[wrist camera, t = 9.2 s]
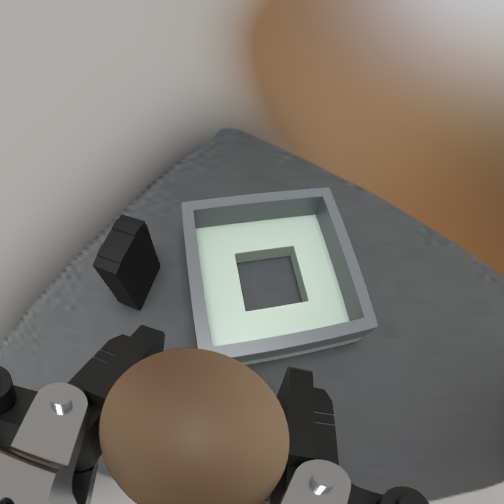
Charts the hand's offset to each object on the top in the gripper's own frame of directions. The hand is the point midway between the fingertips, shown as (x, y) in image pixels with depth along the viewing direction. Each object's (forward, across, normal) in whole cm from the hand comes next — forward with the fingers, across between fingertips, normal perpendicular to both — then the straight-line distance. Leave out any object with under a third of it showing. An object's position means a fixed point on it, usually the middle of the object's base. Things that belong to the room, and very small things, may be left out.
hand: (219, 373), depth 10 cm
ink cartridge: (+18, +11, +7) cm, 22 cm away
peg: (+2, 0, +5) cm, 5 cm away
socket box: (+21, -1, +5) cm, 21 cm away
